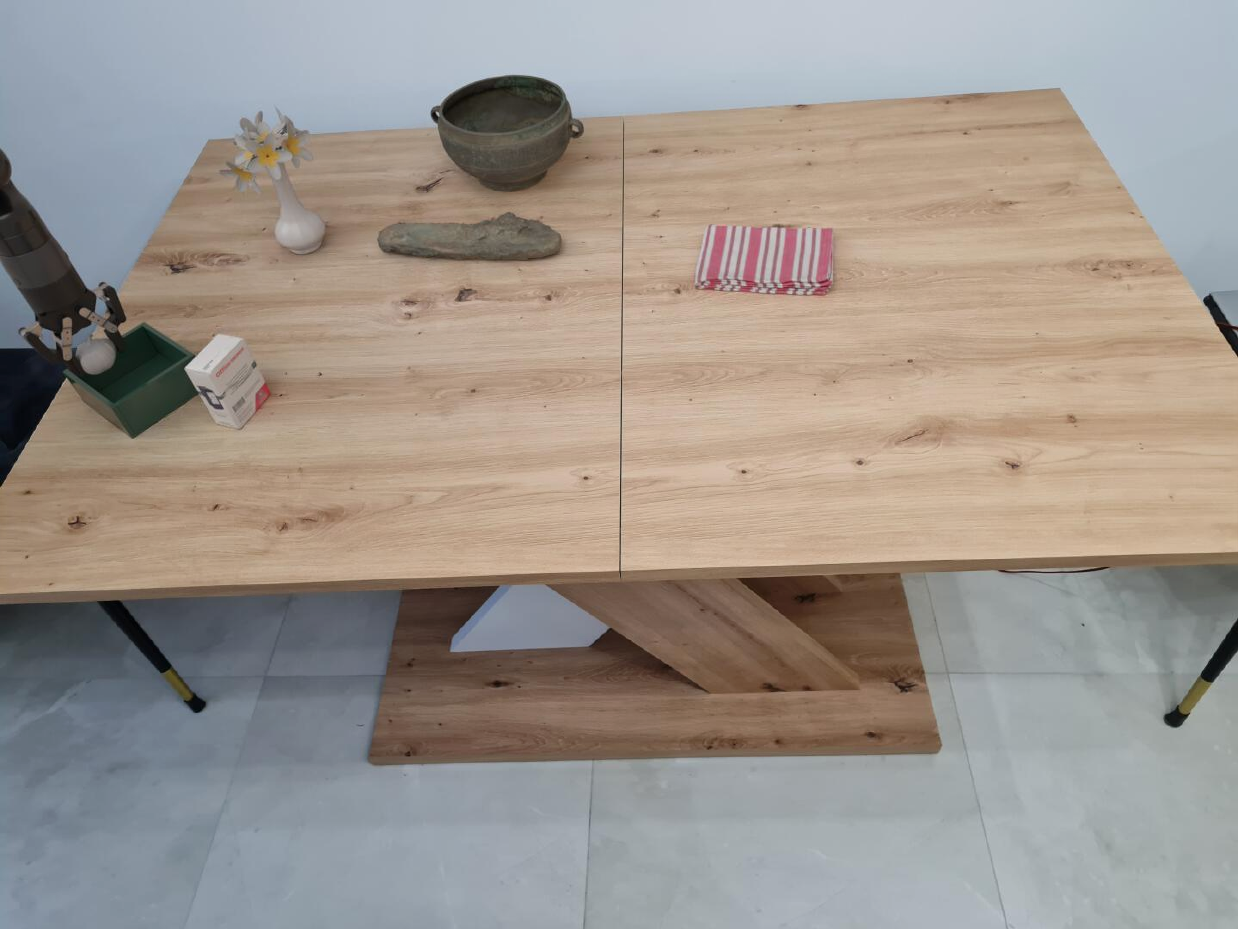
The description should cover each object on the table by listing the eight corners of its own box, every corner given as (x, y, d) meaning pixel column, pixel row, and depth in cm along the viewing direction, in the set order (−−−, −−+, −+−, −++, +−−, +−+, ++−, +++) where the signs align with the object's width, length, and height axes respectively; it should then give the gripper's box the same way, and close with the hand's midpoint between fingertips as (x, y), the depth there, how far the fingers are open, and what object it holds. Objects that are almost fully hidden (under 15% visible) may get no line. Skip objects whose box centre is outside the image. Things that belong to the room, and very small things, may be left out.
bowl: (608, 147, 188) (602, 76, 177) (566, 216, 172) (557, 143, 160) (467, 134, 196) (453, 65, 185) (415, 199, 180) (396, 128, 168)
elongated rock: (392, 234, 174) (376, 267, 168) (383, 211, 170) (366, 244, 164) (567, 231, 167) (557, 266, 161) (562, 207, 163) (552, 242, 157)
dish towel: (832, 297, 150) (834, 280, 147) (692, 290, 154) (692, 273, 151) (833, 238, 161) (835, 221, 159) (703, 233, 165) (703, 216, 162)
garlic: (103, 351, 139) (86, 324, 135) (130, 357, 137) (114, 330, 133) (75, 376, 135) (57, 349, 131) (103, 383, 134) (85, 356, 130)
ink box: (247, 387, 145) (217, 330, 136) (272, 393, 144) (244, 336, 135) (214, 424, 140) (181, 367, 131) (240, 430, 138) (209, 373, 130)
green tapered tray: (132, 439, 139) (111, 408, 134) (83, 401, 145) (62, 371, 141) (211, 385, 146) (194, 354, 141) (161, 351, 153) (144, 321, 148)
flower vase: (254, 276, 166) (198, 150, 147) (293, 219, 178) (245, 96, 159) (321, 278, 164) (272, 151, 145) (355, 220, 176) (314, 96, 157)
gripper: (75, 235, 129) (130, 328, 141) (-23, 287, 121) (44, 379, 134) (102, 252, 125) (156, 345, 138) (3, 306, 118) (70, 399, 130)
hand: (101, 361), depth 136 cm, fingers closed on garlic, 6 cm apart
